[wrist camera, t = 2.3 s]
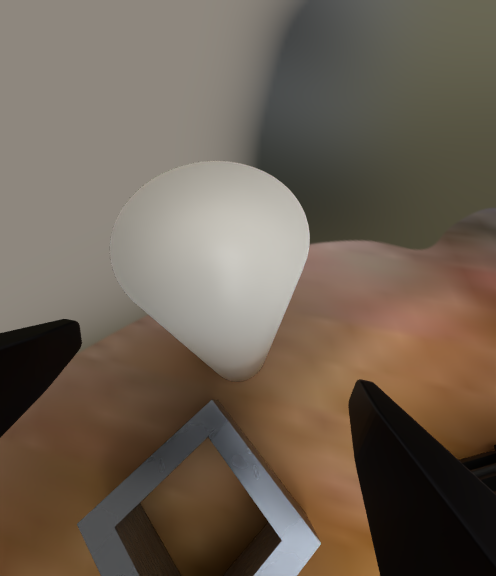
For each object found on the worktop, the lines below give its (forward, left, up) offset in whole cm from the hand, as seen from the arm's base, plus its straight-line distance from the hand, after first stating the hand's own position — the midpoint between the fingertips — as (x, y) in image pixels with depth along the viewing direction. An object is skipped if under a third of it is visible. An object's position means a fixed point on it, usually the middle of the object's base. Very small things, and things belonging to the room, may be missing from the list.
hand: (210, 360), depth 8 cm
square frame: (-5, -4, -10) cm, 12 cm away
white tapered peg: (+2, +1, -10) cm, 10 cm away
